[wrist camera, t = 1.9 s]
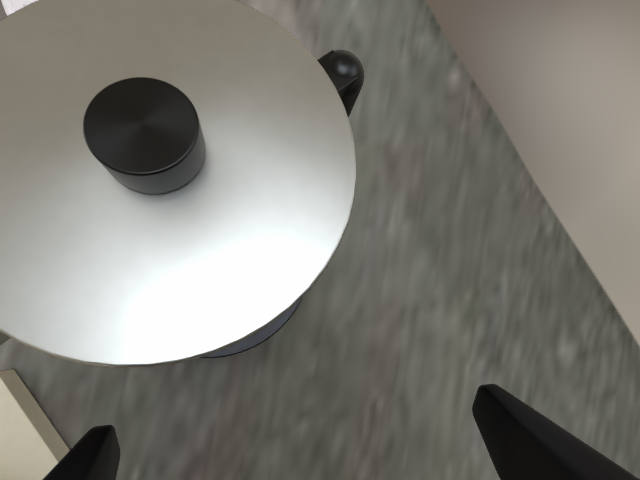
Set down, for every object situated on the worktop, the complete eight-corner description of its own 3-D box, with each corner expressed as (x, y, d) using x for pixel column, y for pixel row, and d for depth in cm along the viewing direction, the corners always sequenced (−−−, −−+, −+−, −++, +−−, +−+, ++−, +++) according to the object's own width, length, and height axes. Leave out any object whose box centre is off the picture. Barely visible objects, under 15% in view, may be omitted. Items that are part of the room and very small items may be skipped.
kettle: (169, 426, 21) (-75, 705, 6) (42, 267, 22) (-489, 115, 6) (366, 250, 26) (542, 127, 10) (254, 123, 26) (255, -176, 11)
